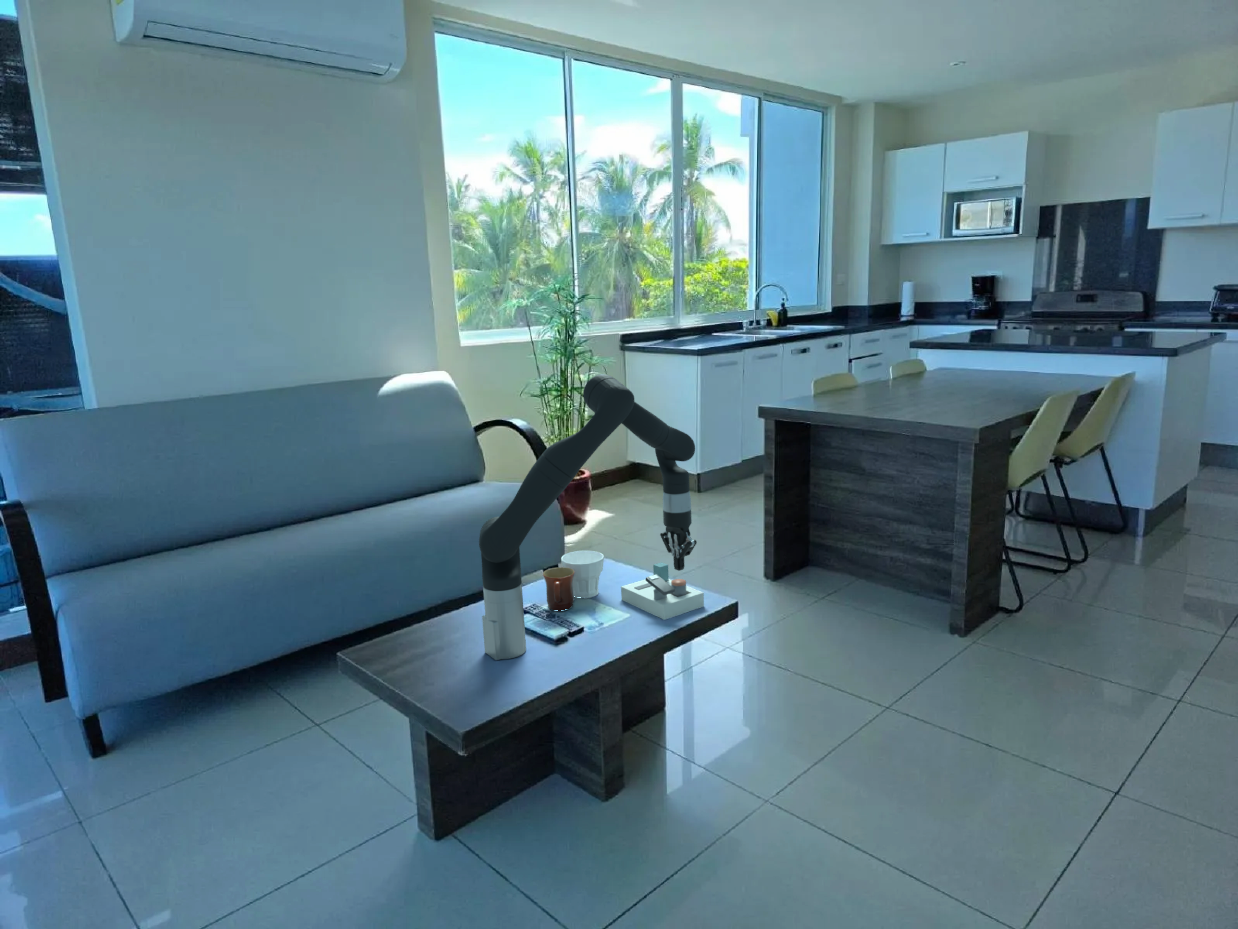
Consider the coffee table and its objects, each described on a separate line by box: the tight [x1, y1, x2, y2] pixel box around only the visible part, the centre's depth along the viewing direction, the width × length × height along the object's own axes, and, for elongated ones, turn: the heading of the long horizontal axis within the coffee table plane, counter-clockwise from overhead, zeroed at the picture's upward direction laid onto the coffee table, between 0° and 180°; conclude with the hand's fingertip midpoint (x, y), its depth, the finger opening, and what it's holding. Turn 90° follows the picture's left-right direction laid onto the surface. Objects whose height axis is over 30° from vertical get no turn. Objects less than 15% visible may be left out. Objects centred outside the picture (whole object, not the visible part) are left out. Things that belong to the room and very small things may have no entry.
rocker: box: [645, 574, 675, 595], centre depth 211 cm, size 4×8×1 cm, turn 36°
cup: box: [560, 550, 605, 599], centre depth 228 cm, size 12×12×11 cm
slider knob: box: [652, 562, 670, 581], centre depth 224 cm, size 3×3×4 cm
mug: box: [542, 566, 575, 612], centre depth 217 cm, size 12×9×10 cm
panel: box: [620, 578, 705, 621], centre depth 219 cm, size 14×19×7 cm
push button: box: [671, 578, 687, 597], centre depth 216 cm, size 4×4×5 cm
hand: (679, 569), depth 214 cm, fingers closed
